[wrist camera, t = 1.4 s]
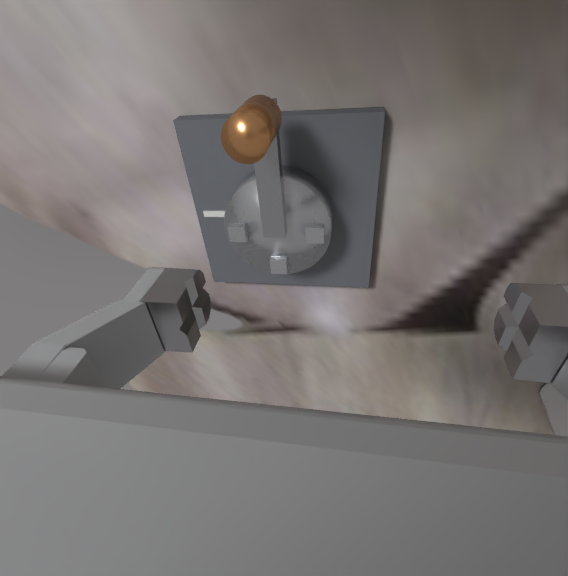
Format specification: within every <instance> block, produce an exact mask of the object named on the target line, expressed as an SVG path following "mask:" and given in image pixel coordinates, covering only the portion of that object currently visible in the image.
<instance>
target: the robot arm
mask: <svg viewBox="0 0 568 576" xmlns="http://www.w3.org/2000/svg"><path fill="white" fill-rule="evenodd" d="M205 282H206V281H205V277H204V274H203V272H202V271H200V270H194V269H178V268H160V267H152V268H149V269H148V270H147V271H146V272H145V274H144V275H143V276H142V277H141V278H140V280H139V281H138V282H137V283H136V285H135V286H134V287H133V289H132V290H131V291H130V292H129V293H128V295H127V296H126V297H125V298H124V299H123V301H116V302H114V303H112V304H110V305H108V306H106V307H104V308H102V309H100V310H98V311H96V312H94V313H92V314H90V315H88V316H86V317H84V318H82V319H80V320H78V321H76V322H74V323H72V324H70V325H68V326H66V327H64V328H62V329H60V330H58V331H56V332H54V333H52V334H50V335H49V336H46V337H44V338H42V339H40V340H38V341H37V342H34V343H33V344H32V345H31V346H30V348H29V349H28V350H26V351H25V352H24V353H23V355H22V356H21V357H20V358H19V359H18V360H17V361H16V362H15V363H14V364H13V365H12V366H11V367H10V368H9V369H8V370H7V371H6V372H5V373H4V374H3V375H2V376H0V576H568V436H559V435H549V434H540V433H530V432H521V431H511V430H502V429H493V428H483V427H474V426H464V425H455V424H446V423H436V422H427V421H417V420H408V419H399V418H389V417H380V416H370V415H361V414H351V413H342V412H332V411H323V410H313V409H304V408H295V407H285V406H276V405H266V404H257V403H247V402H238V401H228V400H219V399H209V398H200V397H190V396H181V395H171V394H162V393H152V392H143V391H134V390H124V389H120V388H121V387H123V386H124V385H125V384H126V383H128V382H129V381H130V380H131V379H133V378H134V377H135V376H136V375H137V374H139V373H140V372H141V371H142V370H144V369H145V368H146V367H147V366H149V365H150V364H151V363H152V362H153V361H155V360H156V359H157V358H158V357H160V356H161V355H162V354H163V353H164V351H175V352H193V350H194V348H195V346H196V344H197V342H198V340H199V338H200V336H201V335H200V331H199V329H200V328H202V327H203V326H205V325H206V323H207V321H208V319H209V315H210V310H211V302H210V297H209V294H208V293H207V292H206V291H205V290H204V289H203V286H204V284H205ZM504 298H505V300H506V302H507V304H505V305H504V306H502V307H501V308H500V309H498V312H497V315H496V317H495V324H494V332H495V337H496V340H497V342H498V345H499V346H501V347H502V348H503V349H505V350H506V351H507V352H506V354H505V357H504V360H505V362H506V364H507V367H508V369H509V372H510V374H511V376H512V379H515V380H525V381H534V382H543V383H552V384H551V385H552V386H553V387H554V388H555V389H556V390H557V391H558V392H560V393H561V394H562V395H563V396H564V397H565V398H566V399H567V400H568V284H556V285H549V284H520V283H511V284H510V285H509V286H508V287H507V289H506V292H505V294H504Z"/></svg>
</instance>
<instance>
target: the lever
mask: <svg viewBox="0 0 568 576" xmlns="http://www.w3.org/2000/svg"><path fill="white" fill-rule="evenodd" d="M281 123H282V115H281V111H280V108H279V107H278V105H277V98H270V97H267V96H265V95H255V96H252V97H250V98H249V99H248V100H247V101H246V102H245V103H244V104H243V105H242V106H241V107H240V108H239V109H238V110H237V111H236V112H235V113H234V114H232V115H231V116H230V117H229V118H228V119H227V120H226V122H225V123H224V125H223V127H222V130H221V142H222V145H223V148H224V150H225V151H226V153H227V154H228V155H229V156H230V157H231V158H232V159H233V160H235V161H237V162H239V163H242V164H253V163H254V169H255V171H254V172H252V173H251V174H249V175H248V176H247V177H246V178H245V179H244V180H243V181H242V182H241V183H240V185H239V186H238V188H237V189H236V191H235V193H234V194H233V196H232V197H231V199H230V201H229V203H228V205H227V207H226V210H225V215H224V227H225V232H226V236H227V238H228V241H229V243H230V244H231V246H232V248H233V249H234V250H235V252H236V253H237V254H238V255H239V256H240V257H241V258H242V259H243V260H244V261H246V262H247V263H249V264H250V265H252V266H254V267H255V268H258V269H260V270H263V271H266V272H270V273H271V274H291V273H296V272H300V271H303V270H305V269H307V268H309V267H311V266H313V265H314V264H315V263H317V262H318V261H319V260H320V259H321V257H322V256H323V255H324V254H325V252H326V250H327V248H328V246H329V243H330V239H331V230H332V221H333V209H332V204H331V201H330V198H329V196H328V194H327V192H326V191H325V189H324V188H323V186H322V185H321V184H320V183H319V182H318V181H317V180H316V179H315V178H314V177H312V176H311V175H309V174H308V173H306V172H304V171H302V170H300V169H297V168H294V167H290V166H285V165H282V159H281V147H280V134H279V129H280V127H281Z"/></svg>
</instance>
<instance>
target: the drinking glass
mask: <svg viewBox="0 0 568 576" xmlns="http://www.w3.org/2000/svg"><path fill="white" fill-rule="evenodd" d="M551 384H552V383H547V384H545V385H544V386H543V387H542V388H541V390H540V398H541V400H542V402H543V405H544V407H545V409H546V412H547V415H548V418H549V421H550V424H551V427H552V430H553V433H554V435H559V436H568V400H567V399H566V398H565V397H564V396H563V395H562V394H561V393H560V392H558V391H557V390H556V389H555V388H554V387H553V386H552V385H551Z"/></svg>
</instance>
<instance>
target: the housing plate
mask: <svg viewBox="0 0 568 576" xmlns="http://www.w3.org/2000/svg"><path fill="white" fill-rule="evenodd" d="M231 115H232V114H213V115H190V116H179V117H178V118H176V119H175V120H173V121H174V125H175V129H176V133H177V137H178V141H179V145H180V148H181V152H182V156H183V160H184V164H185V168H186V172H187V176H188V180H189V184H190V188H191V192H192V196H193V200H194V204H195V208H196V211H197V215H198V219H199V223H200V227H201V231H202V235H203V239H204V243H205V247H206V251H207V255H208V259H209V263H210V267H211V271H212V274H213V278H214V282H238V283H263V284H288V285H313V286H338V287H363V288H369V279H370V269H371V258H372V247H373V237H374V226H375V215H376V205H377V194H378V183H379V173H380V162H381V151H382V141H383V130H384V119H385V108H384V107H372V108H350V109H327V110H304V111H281V115H282V123H281V127H280V129H279V134H280V147H281V159H282V165H285V166H290V167H294V168H297V169H300V170H302V171H304V172H306V173H308V174H309V175H311V176H312V177H314V178H315V179H316V180H317V181H318V182H319V183H320V184H321V185H322V186H323V188H324V189H325V191H326V192H327V194H328V196H329V198H330V201H331V204H332V209H333V221H332V230H331V239H330V243H329V246H328V248H327V250H326V252H325V254H324V255H323V256H322V257H321V259H320V260H319V261H318V262H317V263H315V264H314V265H313V266H311V267H309V268H307V269H305V270H303V271H300V272H296V273H291V274H271V273H270V272H266V271H263V270H260V269H258V268H255V267H254V266H252V265H250V264H249V263H247V262H246V261H244V260H243V259H242V258H241V257H240V256H239V255H238V254H237V253H236V252H235V250H234V249H233V248H232V246H231V244H230V243H229V241H228V238H227V236H226V232H225V227H224V215H225V210H226V207H227V205H228V203H229V201H230V199H231V197H232V196H233V194H234V193H235V191H236V189H237V188H238V186H239V185H240V183H241V182H242V181H243V180H244V179H245V178H246V177H247V176H248V175H249V174H251V173H252V172H254V171H255V169H254V163H253V164H242V163H239V162H237V161H235V160H233V159H232V158H231V157H230V156H229V155H228V154H227V153H226V151H225V150H224V148H223V145H222V142H221V130H222V127H223V125H224V123H225V122H226V120H227V119H228V118H229V117H230V116H231Z"/></svg>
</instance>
